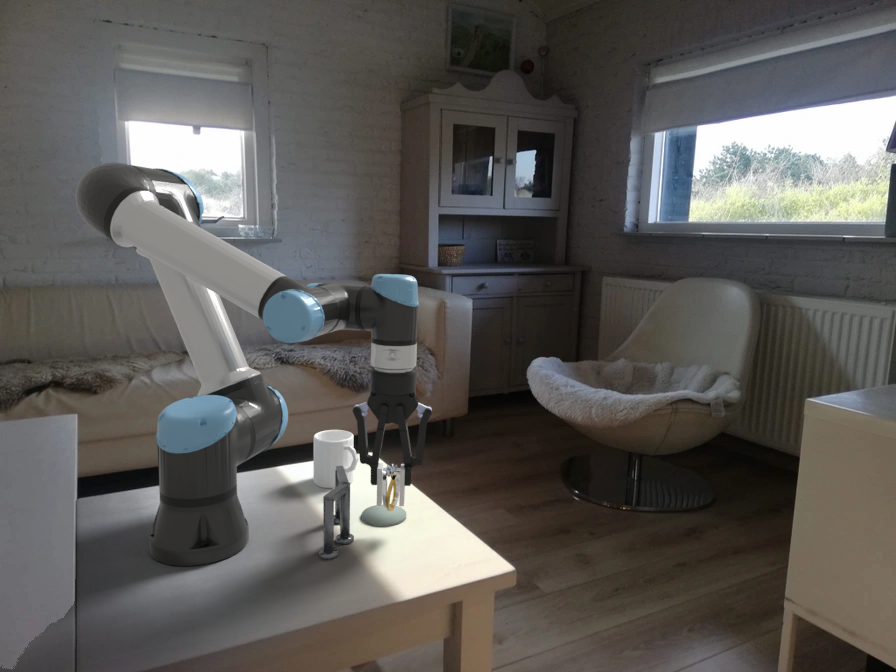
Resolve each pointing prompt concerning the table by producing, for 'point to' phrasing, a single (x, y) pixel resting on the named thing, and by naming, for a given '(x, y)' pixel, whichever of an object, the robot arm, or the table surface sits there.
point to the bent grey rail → (336, 515)
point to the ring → (391, 486)
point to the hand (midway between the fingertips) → (390, 502)
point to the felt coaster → (383, 516)
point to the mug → (333, 456)
